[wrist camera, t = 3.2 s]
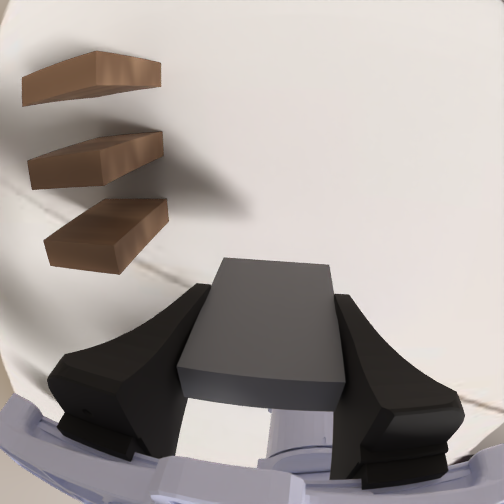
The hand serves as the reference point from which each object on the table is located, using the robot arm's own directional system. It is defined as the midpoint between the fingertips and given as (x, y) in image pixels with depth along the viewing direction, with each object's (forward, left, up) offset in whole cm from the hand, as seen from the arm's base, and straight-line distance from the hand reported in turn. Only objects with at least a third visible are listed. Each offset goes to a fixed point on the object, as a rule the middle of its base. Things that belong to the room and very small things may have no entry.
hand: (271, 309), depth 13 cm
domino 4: (0, 0, -3) cm, 3 cm away
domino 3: (+1, +10, -8) cm, 13 cm away
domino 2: (+6, +10, -8) cm, 14 cm away
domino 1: (+10, +10, -8) cm, 16 cm away
